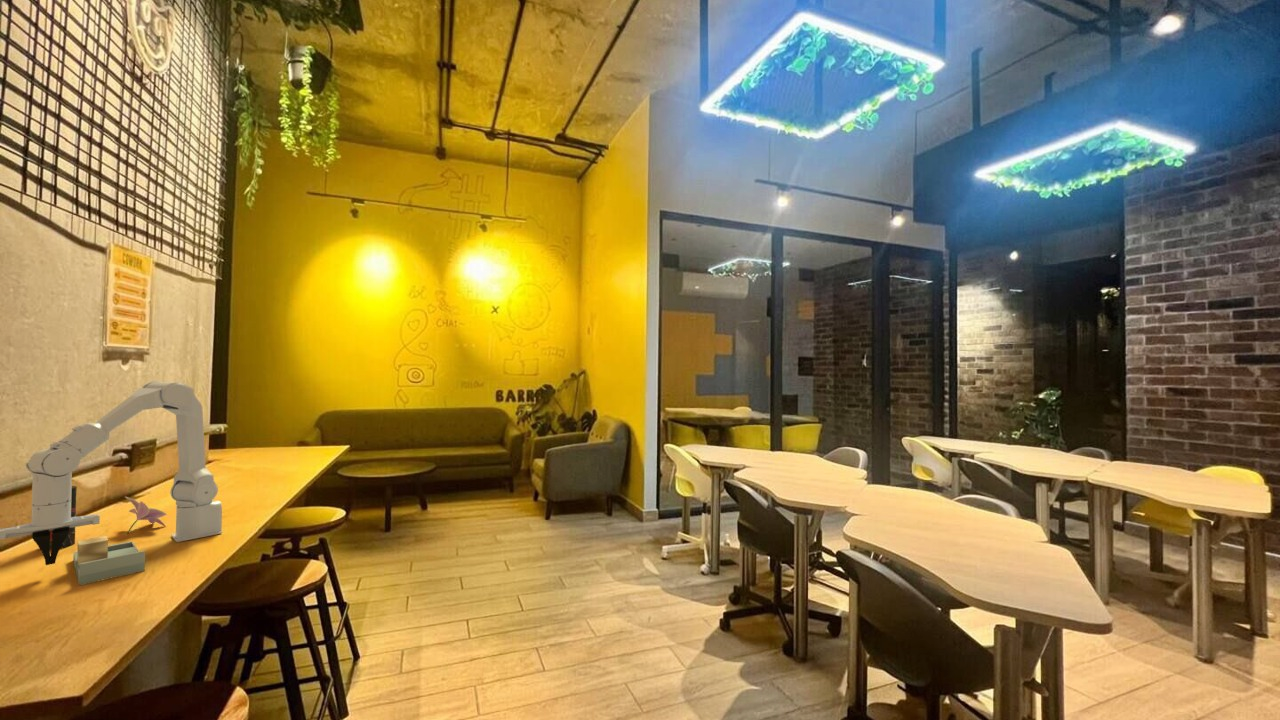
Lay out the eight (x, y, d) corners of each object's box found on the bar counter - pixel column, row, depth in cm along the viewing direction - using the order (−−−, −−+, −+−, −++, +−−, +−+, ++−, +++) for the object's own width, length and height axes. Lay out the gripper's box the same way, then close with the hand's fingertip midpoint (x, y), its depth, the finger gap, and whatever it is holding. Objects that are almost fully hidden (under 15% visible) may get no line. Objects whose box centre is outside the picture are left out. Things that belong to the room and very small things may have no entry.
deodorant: (80, 543, 130) (81, 487, 130) (47, 551, 124) (48, 492, 125) (67, 541, 132) (69, 485, 132) (34, 548, 126) (36, 490, 126)
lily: (164, 536, 139) (181, 502, 144) (108, 528, 132) (128, 493, 137) (155, 540, 146) (171, 507, 151) (101, 533, 138) (121, 499, 143)
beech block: (105, 554, 118) (106, 535, 118) (107, 559, 115) (108, 540, 115) (77, 560, 114) (77, 540, 114) (78, 565, 112) (78, 545, 112)
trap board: (132, 548, 127) (132, 531, 127) (144, 570, 114) (145, 551, 114) (73, 560, 119) (73, 541, 119) (79, 585, 106) (79, 564, 106)
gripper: (98, 493, 119) (96, 549, 118) (-1, 506, 107) (-3, 568, 107) (101, 498, 114) (99, 557, 114) (-2, 512, 103) (-4, 577, 103)
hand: (50, 563), depth 110 cm, fingers closed
